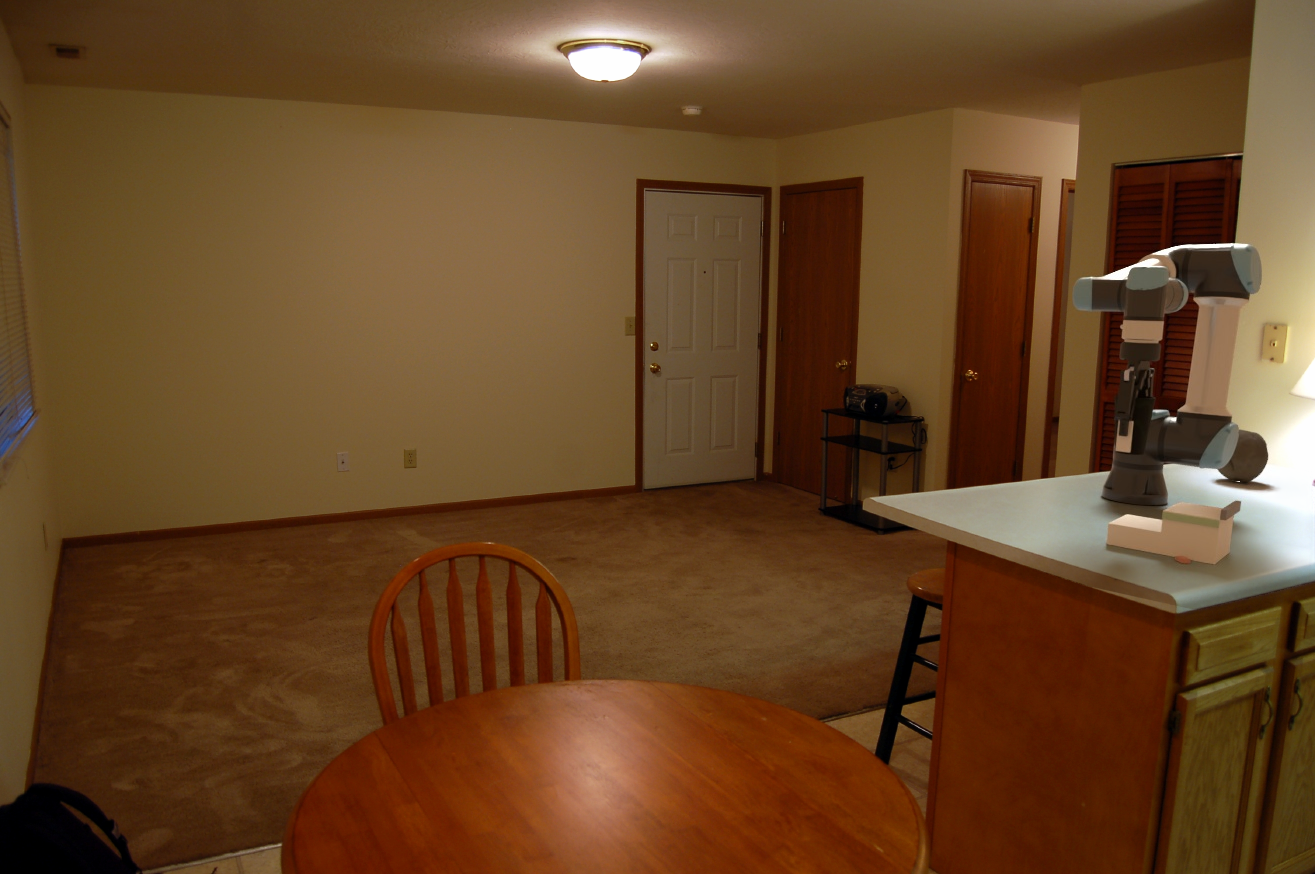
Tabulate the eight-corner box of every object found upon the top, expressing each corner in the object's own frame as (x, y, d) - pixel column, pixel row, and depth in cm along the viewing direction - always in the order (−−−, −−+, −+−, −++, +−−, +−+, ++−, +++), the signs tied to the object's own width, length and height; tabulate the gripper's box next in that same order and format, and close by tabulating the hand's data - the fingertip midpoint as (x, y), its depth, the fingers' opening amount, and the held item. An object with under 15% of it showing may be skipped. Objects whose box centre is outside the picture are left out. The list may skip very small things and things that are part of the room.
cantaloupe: (1277, 486, 259) (1284, 434, 257) (1226, 485, 260) (1233, 432, 257) (1246, 477, 273) (1252, 426, 271) (1198, 475, 273) (1204, 425, 271)
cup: (1154, 456, 192) (1160, 399, 190) (1114, 454, 194) (1119, 397, 192) (1143, 450, 199) (1149, 395, 197) (1105, 448, 201) (1111, 393, 199)
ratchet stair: (1125, 533, 203) (1130, 484, 201) (1235, 553, 189) (1241, 500, 187) (1100, 547, 191) (1105, 495, 190) (1215, 569, 177) (1222, 513, 175)
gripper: (1138, 339, 203) (1128, 442, 206) (1104, 341, 188) (1093, 451, 192) (1176, 341, 197) (1164, 447, 201) (1143, 343, 183) (1131, 457, 186)
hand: (1129, 449), depth 196 cm, fingers closed on cup, 8 cm apart
